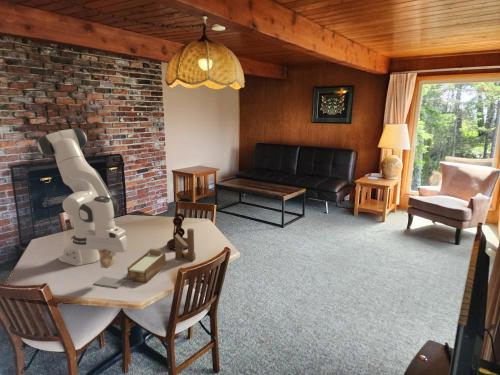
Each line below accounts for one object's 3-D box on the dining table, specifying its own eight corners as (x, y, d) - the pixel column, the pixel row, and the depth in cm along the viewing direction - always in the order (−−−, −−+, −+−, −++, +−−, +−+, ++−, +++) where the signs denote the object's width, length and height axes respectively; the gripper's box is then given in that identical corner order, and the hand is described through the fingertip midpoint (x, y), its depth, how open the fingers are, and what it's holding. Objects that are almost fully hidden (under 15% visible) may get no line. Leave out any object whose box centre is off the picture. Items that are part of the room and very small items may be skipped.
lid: (129, 270, 169) (128, 263, 168) (150, 254, 188) (149, 247, 187) (144, 272, 167) (144, 265, 167) (163, 256, 186) (163, 249, 185)
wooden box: (128, 280, 171) (127, 267, 169) (149, 263, 190) (148, 251, 188) (146, 282, 168) (146, 270, 167) (165, 265, 187) (165, 253, 186)
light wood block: (100, 267, 163) (99, 251, 161) (110, 261, 169) (108, 245, 167) (107, 268, 162) (105, 252, 160) (116, 261, 168) (114, 246, 167)
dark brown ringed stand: (170, 241, 220) (168, 211, 215) (193, 241, 220) (192, 211, 216) (164, 250, 206) (163, 218, 201) (189, 251, 206) (188, 219, 201)
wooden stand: (177, 256, 198) (176, 226, 194) (195, 258, 196) (195, 228, 192) (175, 259, 195) (174, 229, 190) (193, 261, 192) (192, 230, 188)
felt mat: (93, 284, 166) (93, 283, 166) (102, 277, 173) (102, 276, 173) (117, 288, 163) (117, 287, 163) (126, 281, 170) (126, 280, 170)
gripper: (81, 231, 161) (84, 259, 164) (120, 235, 156) (123, 263, 160) (90, 227, 167) (93, 253, 170) (128, 230, 162) (130, 258, 165)
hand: (108, 258), depth 165 cm, fingers closed on light wood block, 3 cm apart
